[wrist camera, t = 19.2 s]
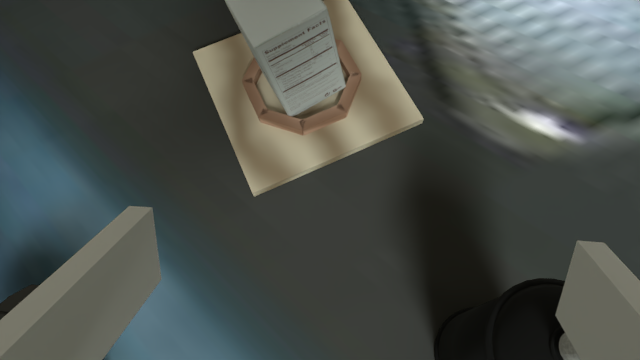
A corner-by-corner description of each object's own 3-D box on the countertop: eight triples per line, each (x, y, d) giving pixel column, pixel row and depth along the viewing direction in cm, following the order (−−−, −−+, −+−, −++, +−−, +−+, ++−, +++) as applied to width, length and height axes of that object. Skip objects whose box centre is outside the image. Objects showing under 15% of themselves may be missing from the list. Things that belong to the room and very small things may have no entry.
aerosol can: (415, 346, 41) (473, 331, 22) (480, 289, 42) (586, 232, 24) (480, 428, 38) (609, 489, 19) (548, 364, 40) (726, 365, 21)
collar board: (343, -2, 57) (343, -15, 55) (422, 123, 49) (425, 112, 47) (195, 57, 54) (189, 45, 52) (254, 196, 47) (250, 189, 45)
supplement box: (262, 74, 52) (219, -8, 40) (318, 43, 52) (291, -47, 40) (288, 121, 49) (251, 48, 37) (348, 88, 49) (329, 5, 37)
